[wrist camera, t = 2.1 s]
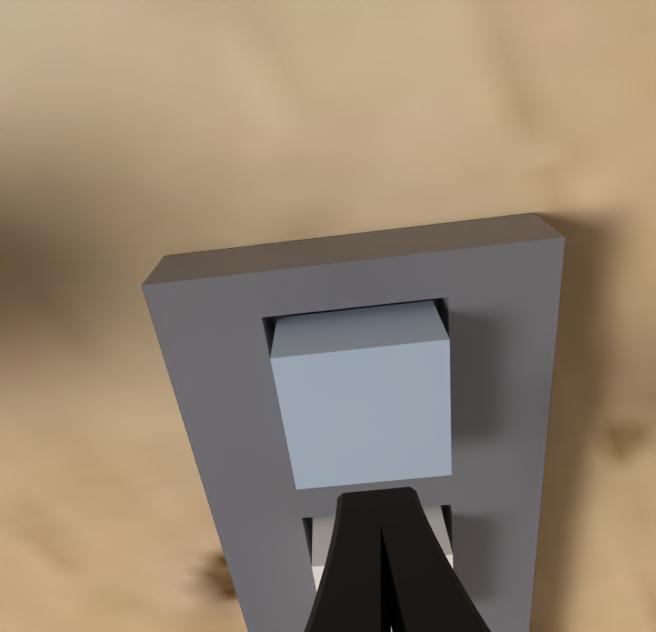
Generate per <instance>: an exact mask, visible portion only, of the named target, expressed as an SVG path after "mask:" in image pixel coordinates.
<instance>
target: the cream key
mask: <svg viewBox="0 0 656 632" xmlns="http://www.w3.org/2000/svg"><path fill="white" fill-rule="evenodd" d="M422 508H423V510H424V513H425V515H426V517H427V519H428V522H429V524H430V526H431V528H432V530H433V532H434V534H435V536H436V538H437V540H438V542H439V544H440V546H441V548H442V550H443V552H444V554H445V555H446V557H447V559H448V561H449V563H450V564H451V566H452V568H453V553H452V549H451V546H450V542H449V538H448V534H447V530H446V526H445V522H444V518H443V514H442V510H441V507H440V506H429V507H422ZM334 522H335V515H331V516H320V517H313V533H312V571H313V576H314V581H315V586H316V591H317V590H318V587H319V583H320V580H321V577H322V573H323V570H324V566H325V562H326V558H327V554H328V550H329V546H330V542H331V537H332V532H333V527H334ZM391 632H392V628H391Z"/></svg>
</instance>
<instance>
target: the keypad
mask: <svg viewBox="0 0 656 632" xmlns="http://www.w3.org/2000/svg"><path fill="white" fill-rule="evenodd" d="M564 248H565V236H564V235H562V234H561V233H560V232H558V231H557V230H556V229H555V228H553V227H552V226H551V225H549V224H548V223H547V222H545V221H544V220H543V219H542V218H540V217H539V216H538V215H536V214H535V213H528V214H520V215H511V216H503V217H494V218H486V219H477V220H469V221H460V222H452V223H443V224H435V225H426V226H417V227H409V228H400V229H392V230H383V231H375V232H366V233H358V234H349V235H341V236H332V237H324V238H315V239H306V240H298V241H289V242H281V243H272V244H264V245H255V246H247V247H238V248H230V249H221V250H213V251H204V252H195V253H187V254H178V255H170V256H164V257H163V258H162V260H161V261H160V262H159V264H158V265H157V266H156V267H155V269H154V270H153V271H152V273H151V274H150V275H149V276H148V278H147V279H146V280H145V282H144V283H143V284H142V289H143V292H144V295H145V299H146V302H147V305H148V308H149V312H150V315H151V318H152V321H153V325H154V328H155V331H156V334H157V338H158V341H159V344H160V347H161V351H162V354H163V357H164V360H165V364H166V367H167V370H168V373H169V376H170V380H171V383H172V386H173V389H174V393H175V396H176V399H177V402H178V406H179V409H180V412H181V415H182V419H183V422H184V425H185V428H186V432H187V435H188V438H189V441H190V445H191V448H192V451H193V454H194V458H195V461H196V464H197V467H198V471H199V474H200V477H201V480H202V483H203V487H204V490H205V493H206V496H207V500H208V503H209V506H210V509H211V513H212V516H213V519H214V522H215V526H216V529H217V532H218V535H219V539H220V542H221V545H222V548H223V552H224V555H225V558H226V561H227V565H228V568H229V571H230V574H231V577H232V581H233V584H234V587H235V590H236V594H237V597H238V600H239V603H240V607H241V610H242V613H243V616H244V620H245V623H246V626H247V629H248V632H304V630H305V628H306V625H307V622H308V619H309V616H310V613H311V610H312V607H313V604H314V600H315V597H316V594H317V591H316V586H315V581H314V576H313V571H312V533H313V517H320V516H331V515H336V507H337V498H338V497H339V496H340V495H341V494H342V493H347V492H358V491H368V490H379V489H390V488H401V487H411V488H413V489H414V490H416V491H417V494H418V497H419V500H420V503H421V505H422V507H429V506H440V507H441V510H442V514H443V518H444V522H445V526H446V530H447V534H448V538H449V542H450V546H451V549H452V553H453V570H454V572H455V573H456V575H457V577H458V578H459V580H460V582H461V583H462V585H463V587H464V588H465V590H466V592H467V594H468V595H469V597H470V599H471V600H472V602H473V604H474V605H475V607H476V609H477V610H478V612H479V613H480V615H481V616H482V618H483V620H484V621H485V623H486V624H487V626H488V628H489V629H490V631H491V632H529V628H530V617H531V606H532V595H533V584H534V574H535V563H536V552H537V541H538V530H539V519H540V508H541V498H542V487H543V476H544V465H545V454H546V443H547V433H548V422H549V411H550V400H551V389H552V378H553V368H554V357H555V346H556V335H557V324H558V313H559V303H560V292H561V281H562V270H563V259H564ZM424 301H433V303H434V305H435V307H436V309H437V312H438V314H439V316H440V319H441V321H442V323H443V325H444V328H445V330H446V332H447V335H448V337H449V339H450V400H451V467H452V475H446V476H435V477H424V478H414V479H403V480H393V481H382V482H371V483H361V484H350V485H340V486H329V487H318V488H308V489H297V490H296V486H295V481H294V476H293V470H292V465H291V460H290V455H289V450H288V445H287V440H286V435H285V430H284V425H283V420H282V415H281V410H280V405H279V400H278V395H277V390H276V385H275V380H274V375H273V370H272V365H271V360H270V357H271V351H272V345H273V339H274V334H275V328H276V322H277V318H279V317H288V316H297V315H306V314H315V313H324V312H333V311H342V310H352V309H361V308H370V307H379V306H388V305H397V304H406V303H415V302H424Z"/></svg>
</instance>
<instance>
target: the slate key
mask: <svg viewBox="0 0 656 632" xmlns="http://www.w3.org/2000/svg"><path fill="white" fill-rule="evenodd" d="M270 360H271V365H272V370H273V375H274V380H275V385H276V390H277V395H278V400H279V405H280V410H281V415H282V420H283V425H284V430H285V435H286V440H287V445H288V450H289V455H290V460H291V465H292V470H293V476H294V481H295V486H296V490H297V489H308V488H318V487H329V486H340V485H350V484H361V483H371V482H382V481H393V480H403V479H414V478H424V477H435V476H446V475H452V467H451V400H450V339H449V337H448V335H447V332H446V330H445V328H444V325H443V323H442V321H441V319H440V316H439V314H438V312H437V309H436V307H435V305H434V303H433V301H424V302H415V303H406V304H397V305H388V306H379V307H370V308H361V309H352V310H342V311H333V312H324V313H315V314H306V315H297V316H288V317H279V318H277V322H276V328H275V334H274V339H273V345H272V351H271V357H270Z"/></svg>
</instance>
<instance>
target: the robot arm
mask: <svg viewBox="0 0 656 632" xmlns="http://www.w3.org/2000/svg"><path fill="white" fill-rule="evenodd" d="M391 628H392V632H491V631H490V629H489V628H488V626H487V624H486V623H485V621H484V620H483V618H482V616H481V615H480V613H479V612H478V610H477V609H476V607H475V605H474V604H473V602H472V600H471V599H470V597H469V595H468V594H467V592H466V590H465V588H464V587H463V585H462V583H461V582H460V580H459V578H458V577H457V575H456V573H455V572H454V570H453V568H452V566H451V564H450V563H449V561H448V559H447V557H446V555H445V554H444V552H443V550H442V548H441V546H440V544H439V542H438V540H437V538H436V536H435V534H434V532H433V530H432V528H431V526H430V524H429V522H428V519H427V517H426V515H425V513H424V510H423V508H422V505H421V503H420V500H419V497H418V494H417V491H416V490H414V489H413V488H411V487H401V488H390V489H379V490H368V491H358V492H347V493H342V494H341V495H340V496H339V497H338V498H337V507H336V515H335V522H334V527H333V532H332V537H331V542H330V546H329V550H328V554H327V558H326V562H325V566H324V570H323V573H322V577H321V580H320V583H319V587H318V590H317V594H316V597H315V600H314V604H313V607H312V610H311V613H310V616H309V619H308V622H307V625H306V628H305V630H304V632H391Z"/></svg>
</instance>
